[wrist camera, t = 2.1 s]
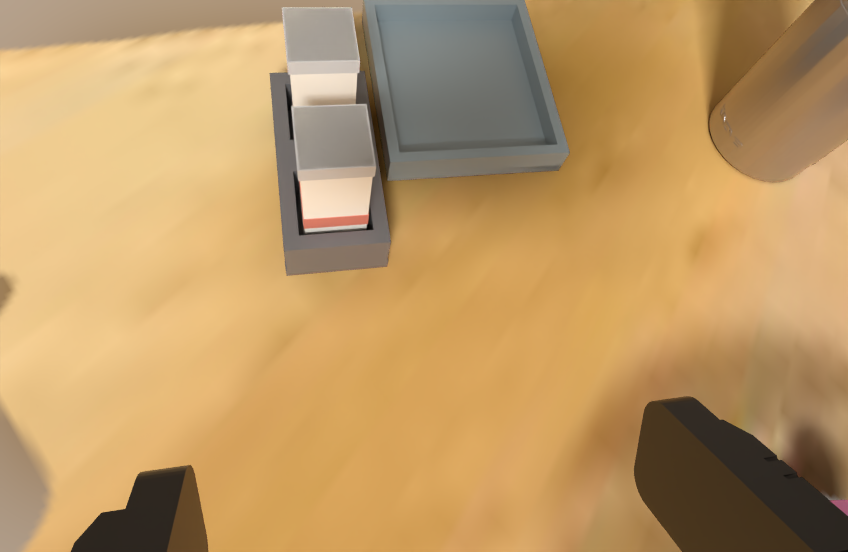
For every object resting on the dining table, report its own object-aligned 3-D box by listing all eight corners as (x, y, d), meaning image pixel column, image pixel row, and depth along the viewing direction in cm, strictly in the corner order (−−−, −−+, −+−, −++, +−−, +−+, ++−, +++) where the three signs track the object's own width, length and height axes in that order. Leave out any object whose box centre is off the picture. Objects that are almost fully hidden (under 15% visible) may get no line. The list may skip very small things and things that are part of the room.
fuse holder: (363, 106, 46) (365, 70, 42) (386, 266, 41) (392, 242, 37) (273, 109, 45) (268, 73, 41) (286, 275, 40) (282, 251, 36)
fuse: (347, 111, 44) (351, 7, 35) (353, 157, 43) (359, 61, 34) (292, 114, 44) (281, 7, 34) (296, 160, 42) (287, 62, 33)
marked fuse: (358, 193, 42) (366, 103, 33) (366, 245, 40) (376, 166, 31) (300, 197, 41) (291, 106, 32) (305, 250, 39) (297, 171, 30)
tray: (515, 20, 52) (523, -3, 50) (558, 170, 46) (569, 152, 44) (361, 21, 49) (363, -3, 47) (387, 180, 44) (390, 162, 41)
